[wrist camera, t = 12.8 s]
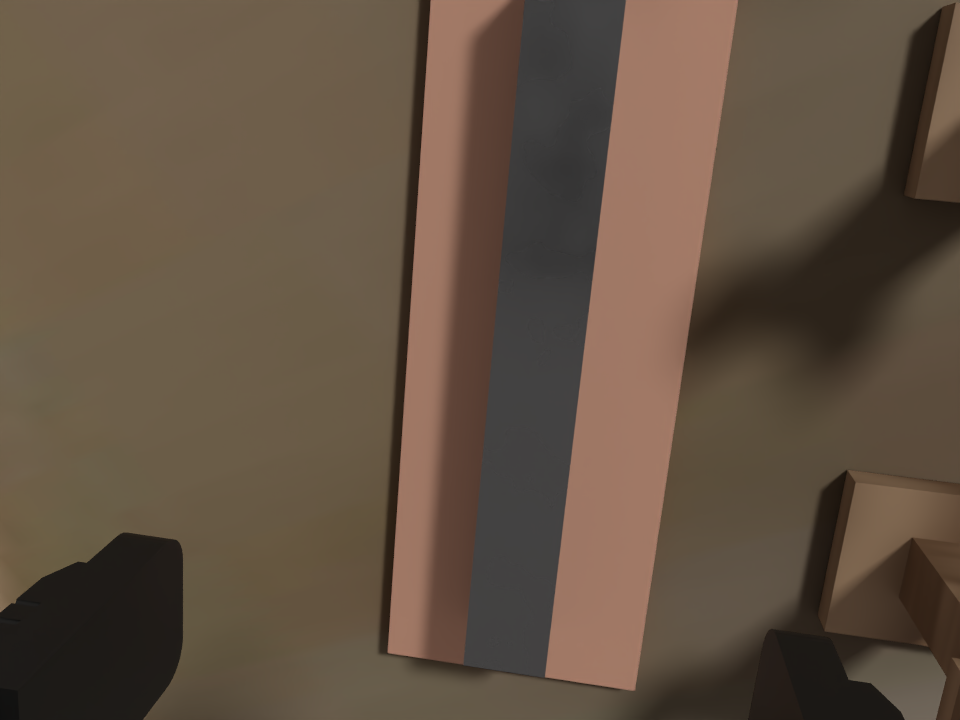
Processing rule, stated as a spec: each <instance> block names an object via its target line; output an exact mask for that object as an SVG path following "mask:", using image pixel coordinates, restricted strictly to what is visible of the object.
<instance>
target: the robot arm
mask: <svg viewBox="0 0 960 720" xmlns="http://www.w3.org/2000/svg"><path fill="white" fill-rule="evenodd" d="M182 642H183V554H182V548H181V545H180V543H179V542H178V541H177V540H173V539H167V538H160V537H153V536H146V535H140V534H133V533H122V534H120V535H118V536H117V537H116V538H115V539H114V540H112V541H111V542H110V543H109V544H108V545H107V546H106V547H104V548H103V549H102V550H101V551H100V552H99V553H98V554H96V555H95V556H94V557H93V558H92V559H91V560H90V561H88V562H87V563H84V562H76V563H74V564H72V565H70V566H67V567H65V568H63V569H61V570H58V571H56V572H54V573H52V574H49V575H47V576H45V577H43V578H41V579H40V580H39V581H38V582H36V583H35V584H34V585H33V586H32V587H30V588H29V589H28V590H27V591H26V592H24V593H23V594H22V595H21V596H20V597H18V598H17V601H16V603H15V604H14V603H11V604H10V605H9V606H8V607H6V608H5V609H4V610H3V611H2V612H0V720H143V719H144V717H145V716H146V715H147V713H148V712H149V711H150V709H151V708H152V707H153V705H154V704H155V703H156V701H157V700H158V699H159V697H160V696H161V695H162V693H163V692H164V691H165V689H166V688H167V687H168V685H169V684H170V682H171V680H172V678H173V676H174V674H175V671H176V669H177V666H178V663H179V659H180V655H181V650H182ZM748 720H905V719H904V717H903V715H902V713H901V712H900V711H899V710H898V709H897V708H896V707H895V706H894V705H893V704H892V703H891V702H890V701H889V700H888V699H887V698H886V697H885V696H884V695H883V694H882V693H881V692H879V691H878V690H877V689H876V688H875V687H874V686H873V685H872V684H871V683H865V682H858V681H852V680H848V677H847V675H846V673H845V670H844V668H843V666H842V663H841V661H840V659H839V656H838V654H837V652H836V649H835V647H834V645H833V643H832V641H831V639H830V638H828V637H822V636H815V635H808V634H801V633H795V632H788V631H781V630H774V629H770V630H769V631H768V633H767V634H766V637H765V640H764V643H763V648H762V653H761V658H760V663H759V668H758V673H757V678H756V683H755V688H754V693H753V698H752V703H751V708H750V713H749V718H748Z"/></svg>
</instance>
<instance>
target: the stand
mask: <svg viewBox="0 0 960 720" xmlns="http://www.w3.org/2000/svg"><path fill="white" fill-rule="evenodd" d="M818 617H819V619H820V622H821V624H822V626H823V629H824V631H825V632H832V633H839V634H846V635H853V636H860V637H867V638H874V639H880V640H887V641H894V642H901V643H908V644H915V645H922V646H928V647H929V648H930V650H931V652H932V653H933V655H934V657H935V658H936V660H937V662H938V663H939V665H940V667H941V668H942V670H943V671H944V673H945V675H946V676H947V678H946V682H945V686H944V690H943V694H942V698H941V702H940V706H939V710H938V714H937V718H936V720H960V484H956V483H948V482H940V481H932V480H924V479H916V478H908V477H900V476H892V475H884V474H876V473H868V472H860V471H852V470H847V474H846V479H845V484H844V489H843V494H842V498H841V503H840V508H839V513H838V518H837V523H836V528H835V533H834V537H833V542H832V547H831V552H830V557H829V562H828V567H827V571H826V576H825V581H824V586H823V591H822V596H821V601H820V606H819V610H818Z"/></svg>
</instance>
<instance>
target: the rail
mask: <svg viewBox="0 0 960 720" xmlns="http://www.w3.org/2000/svg"><path fill="white" fill-rule="evenodd" d="M625 5H626V0H525V2H524V13H523V24H522V35H521V46H520V56H519V67H518V78H517V89H516V100H515V111H514V121H513V132H512V143H511V154H510V165H509V176H508V186H507V197H506V208H505V219H504V230H503V240H502V251H501V262H500V273H499V284H498V295H497V305H496V316H495V327H494V338H493V349H492V360H491V370H490V381H489V392H488V403H487V414H486V425H485V435H484V446H483V457H482V468H481V479H480V489H479V500H478V511H477V522H476V533H475V544H474V554H473V565H472V576H471V587H470V598H469V609H468V619H467V630H466V641H465V652H464V663H463V665H465V666H472V667H478V668H485V669H491V670H498V671H504V672H510V673H517V674H523V675H530V676H536V677H543V678H545V672H546V664H547V656H548V647H549V639H550V631H551V622H552V614H553V606H554V597H555V589H556V580H557V572H558V564H559V555H560V547H561V539H562V530H563V522H564V514H565V505H566V497H567V489H568V480H569V472H570V464H571V455H572V447H573V439H574V430H575V422H576V414H577V405H578V397H579V389H580V380H581V372H582V364H583V355H584V347H585V339H586V330H587V322H588V314H589V305H590V297H591V289H592V280H593V272H594V264H595V255H596V247H597V238H598V230H599V222H600V213H601V205H602V197H603V188H604V180H605V172H606V163H607V155H608V147H609V138H610V130H611V122H612V113H613V105H614V97H615V88H616V80H617V72H618V63H619V55H620V47H621V38H622V30H623V22H624V13H625Z"/></svg>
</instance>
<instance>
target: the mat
mask: <svg viewBox="0 0 960 720" xmlns="http://www.w3.org/2000/svg"><path fill="white" fill-rule="evenodd" d="M524 2H525V0H431V6H430V21H429V36H428V51H427V66H426V81H425V97H424V112H423V127H422V142H421V157H420V172H419V187H418V202H417V218H416V233H415V248H414V263H413V278H412V293H411V308H410V323H409V338H408V354H407V369H406V384H405V399H404V414H403V429H402V444H401V459H400V474H399V490H398V505H397V520H396V535H395V550H394V565H393V580H392V595H391V610H390V626H389V641H388V653H391V654H397V655H404V656H410V657H417V658H423V659H430V660H436V661H443V662H449V663H456V664H462V665H463V663H464V652H465V641H466V630H467V619H468V609H469V598H470V587H471V576H472V565H473V554H474V544H475V533H476V522H477V511H478V500H479V489H480V479H481V468H482V457H483V446H484V435H485V425H486V414H487V403H488V392H489V381H490V370H491V360H492V349H493V338H494V327H495V316H496V305H497V295H498V284H499V273H500V262H501V251H502V240H503V230H504V219H505V208H506V197H507V186H508V176H509V165H510V154H511V143H512V132H513V121H514V111H515V100H516V89H517V78H518V67H519V56H520V46H521V35H522V24H523V13H524ZM737 4H738V0H626V5H625V13H624V22H623V30H622V38H621V47H620V55H619V63H618V72H617V80H616V88H615V97H614V105H613V113H612V122H611V130H610V138H609V147H608V155H607V163H606V172H605V180H604V188H603V197H602V205H601V213H600V222H599V230H598V238H597V247H596V255H595V264H594V272H593V280H592V289H591V297H590V305H589V314H588V322H587V330H586V339H585V347H584V355H583V364H582V372H581V380H580V389H579V397H578V405H577V414H576V422H575V430H574V439H573V447H572V455H571V464H570V472H569V480H568V489H567V497H566V505H565V514H564V522H563V530H562V539H561V547H560V555H559V564H558V572H557V580H556V589H555V597H554V606H553V614H552V622H551V631H550V639H549V647H548V656H547V664H546V672H545V677H547V678H553V679H560V680H567V681H573V682H580V683H586V684H593V685H599V686H606V687H612V688H619V689H625V690H632V691H635V686H636V680H637V673H638V666H639V660H640V653H641V646H642V640H643V633H644V626H645V620H646V613H647V606H648V600H649V593H650V586H651V579H652V573H653V566H654V559H655V553H656V546H657V539H658V533H659V526H660V519H661V513H662V506H663V499H664V493H665V486H666V479H667V472H668V466H669V459H670V452H671V446H672V439H673V432H674V426H675V419H676V412H677V406H678V399H679V392H680V386H681V379H682V372H683V365H684V359H685V352H686V345H687V339H688V332H689V325H690V319H691V312H692V305H693V299H694V292H695V285H696V279H697V272H698V265H699V258H700V252H701V245H702V238H703V232H704V225H705V218H706V212H707V205H708V198H709V192H710V185H711V178H712V172H713V165H714V158H715V151H716V145H717V138H718V131H719V125H720V118H721V111H722V105H723V98H724V91H725V85H726V78H727V71H728V65H729V58H730V51H731V44H732V38H733V31H734V24H735V18H736V11H737Z"/></svg>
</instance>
